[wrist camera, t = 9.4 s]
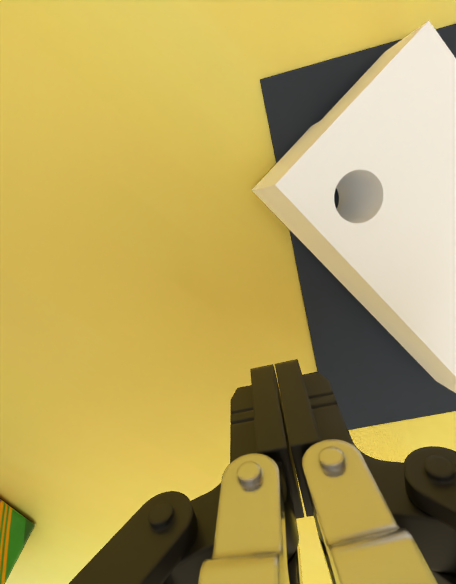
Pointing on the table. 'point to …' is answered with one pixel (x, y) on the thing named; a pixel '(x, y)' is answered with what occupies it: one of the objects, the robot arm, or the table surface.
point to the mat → (327, 288)
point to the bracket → (385, 196)
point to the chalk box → (11, 538)
